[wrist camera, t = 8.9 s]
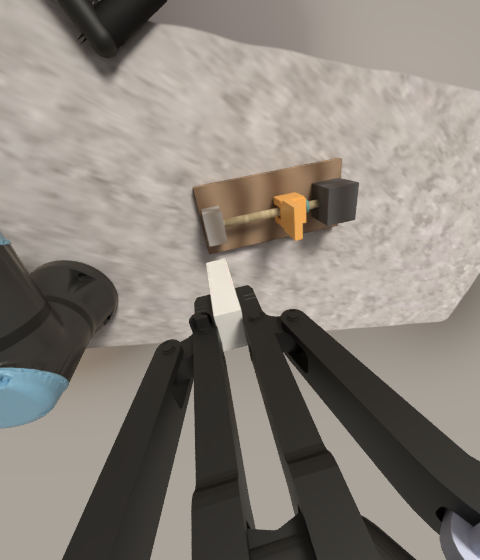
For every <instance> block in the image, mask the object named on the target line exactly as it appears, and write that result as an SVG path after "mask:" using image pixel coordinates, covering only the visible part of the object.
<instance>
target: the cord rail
mask: <svg viewBox="0 0 480 560" xmlns="http://www.w3.org/2000/svg"><path fill="white" fill-rule="evenodd" d="M341 167H342V159H340V158H336V159H331V160H326V161H321V162H316V163H311V164H306V165H301V166H296V167H291V168H286V169H281V170H276V171H271V172H266V173H261V174H255V175H250V176H245V177H240V178H235V179H230V180H225V181H220V182H215V183H210V184H205V185H200V186H195V187H193V190H194V194H195V198H196V202H197V206H198V210H199V214H200V218H201V222H202V226H203V230H204V234H205V238H206V242H207V246H208V250H209V254H213V253H217V252H222V251H226V250H231V249H235V248H240V247H244V246H248V245H253V244H257V243H262V242H266V241H271V240H275V239H280V238H284V237H289V235H288V234H287V233H286V232H285V231H284V227H281V226H280V225H279V224H278V223H277V222H276V221H275V217H277V216H281V215H280V208H279V207H278V206H277V205H275V204H274V199H273V197H274V196H279V195H284V194H289V193H294V192H296V193H298V194H300V195H303V196H304V198H306V223H303V233H307V232H311V231H316V230H320V229H325V228H329V227H334V226H338V223H343V222H347V221H352V220H355V215H356V206H357V196H358V187H359V182H355V181H350V180H346V179H341Z"/></svg>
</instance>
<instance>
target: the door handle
mask: <svg viewBox="0 0 480 560" xmlns="http://www.w3.org/2000/svg"><path fill="white" fill-rule="evenodd" d="M57 1H58V3H59V4H60V5H61V6H62V8H63V9H64V10H65V12H66V13H67V14H68V16H69V17H70V18H71V20H72V21H73V22H74V23H75V25H76V26H77V27H78V29H79V30H80V31H81V33H82V35H81V36H80V37H79V38H78V39H80V38H81V37H82V36H83V35H84V37H85V39H84V40H83V42H84V41H85V40H88V42H89V43H90V44H91V46H92V47H93V48H94V50H95V51H96V52H97V53H98V54H99V55H101V56H103V57H105V58H111V57H113V56H114V55H115V54H116V52H117V49H118V48H119V47H120V46H121V45H122V44H124V43H125V42H126V41H127V40H128V39H129V38H130V37H131V36H132V35H133V34H134V33H135V32H136V31H137V30H138V29H139V28H140V27H141V26H142V25H143V24H144V23H145V22H146V21H147V20H148V19H149V18H150V17H151V16H152V15H153V14H154V13H155V12H157V11H158V10H159V9H160V8H161V7H162V6H163V5H164V4H165V3H166V2H167V0H101V1H100V2H99V3H98V4H97V5H96V6H95V7H94V5H93V4H92V2H93V0H57ZM83 42H82V43H83ZM82 43H81V44H82Z"/></svg>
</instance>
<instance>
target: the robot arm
mask: <svg viewBox="0 0 480 560" xmlns="http://www.w3.org/2000/svg"><path fill="white" fill-rule="evenodd" d="M10 244H12V243H11V242H10V241H9V240H8V239H6V238H5V237H4V236H3V234H2V233H1V232H0V428H9V427H16V426H20V425H24V424H27V423H30V422H33V421H35V420H38V419H40V418H41V417H43V416H45V415H46V414H47V413H48V412H50V411H51V410H52V409H53V408H54V406H55V405H56V403H57V401H58V400H59V398H60V396H61V395H62V393H63V391H65V389H67V387H68V385H69V382H70V380H71V378H72V375H73V373H74V371H75V369H76V367H77V365H78V363H79V361H80V358H81V357H82V355H83V353H84V351H85V349H86V347H87V345H88V343H89V340H90V338H91V337H92V336H93V335H94V334H95V333H96V332H97V331H98V330H100V329H101V328H102V327H103V326H104V325H106V324H107V323H108V322H109V321H110V319H111V318H112V317H113V315H114V313H115V310H116V308H117V305H118V294H117V291H116V289H115V287H114V285H113V283H112V282H111V281H110V280H109V279H108V277H106V276H105V275H104V274H103V273H102V272H100V271H99V270H97V269H95V268H93V267H91V266H89V265H86V264H83V263H80V262H75V261H66V260H62V261H53V262H49V263H46V264H44V265H42V266H40V267H38V268H37V269H36V270H35V271H33V272H32V273H31V274H29V272H28V271H27V269H26V268H25V266H24V265H23V263H22V262H21V260H20V258H19V257H18V255H17V254H16V252H15V251H14V249H13V248H12V246H11V245H10ZM206 265H207V272H208V279H209V287H210V295H206V296H202V297H198V298H197V299H196V301H195V302H194V308H195V314H194V315H192V316H191V318H190V319H189V324H190V327H191V329H192V332H193V334H192V335H191V336H190V337H189V338H187V339H185V340H184V341H182V342H179V341H177V340H173V339H171V340H167V341H165V342H163V343H162V344H160V345H159V347H158V348H157V349H156V351H155V353H154V356H153V358H152V360H151V363H150V365H149V367H148V369H147V371H146V374H145V376H144V378H143V380H142V383H141V385H140V387H139V389H138V391H137V394H136V396H135V398H134V400H133V403H132V405H131V407H130V409H129V411H128V414H127V416H126V418H125V420H124V423H123V425H122V427H121V429H120V432H119V434H118V436H117V438H116V440H115V443H114V445H113V447H112V449H111V452H110V454H109V456H108V458H107V461H106V463H105V465H104V467H103V469H102V472H101V474H100V476H99V478H98V481H97V483H96V485H95V487H94V490H93V492H92V494H91V496H90V498H89V501H88V503H87V505H86V507H85V510H84V512H83V514H82V516H81V518H80V521H79V523H78V525H77V528H76V530H75V532H74V534H73V536H72V539H71V541H70V543H69V545H68V547H67V550H66V552H65V554H64V556H63V559H62V560H150V557H151V553H152V549H153V545H154V541H155V536H156V532H157V528H158V524H159V520H160V516H161V512H162V508H163V504H164V499H165V495H166V491H167V487H168V482H169V479H170V474H171V471H172V466H173V462H174V458H175V454H176V450H177V446H178V442H179V438H180V433H181V429H182V425H183V421H184V417H185V413H186V409H187V405H188V400H189V396H190V392H191V388H192V384H193V380H194V411H195V412H194V413H195V455H196V456H195V460H196V488H195V491H194V493H193V497H192V510H191V513H192V514H191V516H192V560H416V559H415V558H414V557H413V556H411V555H410V554H409V553H408V552H407V551H406V550H404V549H403V548H402V547H401V546H400V545H399V544H398V543H396V542H395V541H394V540H393V539H392V538H391V537H390V536H388V535H387V534H386V533H385V532H384V531H383V530H381V529H380V528H379V527H378V526H377V525H375V524H374V523H373V522H371V521H370V520H368V519H367V518H365V517H363V516H361V515H360V512H359V510H358V508H357V506H356V504H355V502H354V499H353V497H352V495H351V493H350V491H349V488H348V486H347V484H346V482H345V480H344V478H343V475H342V473H341V471H340V469H339V467H338V465H337V463H336V461H335V459H334V457H333V455H332V454H331V453H330V452H329V451H328V450H327V449H326V447H325V446H324V444H323V442H322V439H321V437H320V435H319V433H318V431H317V428H316V426H315V424H314V421H313V419H312V417H311V415H310V412H309V410H308V408H307V406H306V403H305V401H304V399H303V397H302V394H301V392H300V390H299V388H298V385H297V383H296V381H295V379H294V376H293V374H292V372H291V370H290V367H289V365H288V363H287V361H286V359H285V356H284V354H283V352H284V353H285V355H286V356H287V357H288V359H289V360H290V361H291V362H292V364H293V365H294V366H295V367H296V369H297V370H298V371H299V372H300V373H301V375H302V376H303V377H304V378H305V379H306V381H307V382H308V383H309V384H310V386H311V387H312V388H313V389H314V390H315V392H316V393H317V394H318V395H319V396H320V398H321V399H322V400H323V401H324V403H325V404H326V405H327V406H328V407H329V409H330V410H331V411H332V412H333V414H334V415H335V416H336V417H337V418H338V419H339V421H340V422H341V423H342V425H343V426H344V427H345V428H346V429H347V431H348V432H349V433H350V434H351V436H352V437H353V438H354V439H355V440H356V442H357V443H358V444H359V445H360V447H361V448H362V449H363V450H364V451H365V453H366V454H367V455H368V456H369V458H370V459H371V460H372V461H373V462H374V464H375V465H376V466H377V467H378V469H379V470H380V471H381V472H382V473H383V475H384V476H385V477H386V478H387V479H388V481H389V482H390V483H391V484H392V486H393V487H394V488H395V489H396V490H397V492H398V493H399V494H400V495H401V496H402V497H403V499H404V500H405V501H406V502H407V503H408V504H409V505H410V506H411V508H412V509H413V510H414V511H415V512H416V513H417V514H418V515H419V516H420V517H421V518H422V519H423V520H424V521H425V522H426V523H427V524H428V525H429V526H430V527H431V528H432V529H433V530H434V531H436V532H437V533H438V534H439V535H440V543H441V548H442V551H443V553H444V555H445V558H446V559H447V560H480V461H478V460H476V459H475V458H473V457H471V456H469V455H468V454H467V453H466V452H465V451H463V450H462V449H461V448H460V447H459V446H458V445H456V444H455V443H454V442H453V441H452V440H451V439H450V438H448V437H447V436H446V435H445V434H444V433H443V432H441V431H440V430H439V429H438V428H437V427H436V426H434V425H433V424H432V423H431V422H430V421H429V420H427V419H426V418H425V417H424V416H423V415H422V414H420V413H419V412H418V411H417V410H416V409H415V408H414V407H412V406H411V405H410V404H409V403H408V402H407V401H405V400H404V399H403V398H402V397H401V396H400V395H398V394H397V393H396V392H395V391H394V390H393V389H392V388H390V387H389V386H388V385H387V384H386V383H385V382H383V381H382V380H381V379H380V378H379V377H378V376H376V375H375V374H374V373H373V372H372V371H371V370H370V369H368V368H367V367H366V366H365V365H364V364H362V363H361V362H360V361H359V360H358V359H357V358H355V357H354V356H353V355H352V354H351V353H350V352H349V351H347V350H346V349H345V348H344V347H343V346H342V345H341V344H339V343H338V342H337V341H335V339H334V338H332V337H331V336H330V335H329V334H328V333H326V332H325V331H324V330H323V329H322V328H321V327H320V326H318V325H317V324H316V323H315V322H314V321H313V320H312V319H310V318H309V317H308V316H307V315H306V314H305V313H303V312H302V311H300V310H297V309H289V310H286V311H284V312H283V313H282V315H281V316H278V317H275V316H269V315H266V314H265V313H264V312H263V311H262V309H261V307H260V305H259V302H258V300H257V298H256V295H255V293H254V291H253V289H252V288H251V287H250V286H248V285H246V286H242V287H238V288H234V285H233V282H232V279H231V276H230V272H229V269H228V266H227V263H226V260H225V259H221V260H216V261H212V262H208V263H206ZM247 345H248V347H249V352H250V357H251V361H252V363H253V366H254V369H255V373H256V377H257V380H258V384H259V387H260V391H261V394H262V397H263V401H264V404H265V408H266V412H267V415H268V419H269V422H270V425H271V429H272V433H273V436H274V440H275V443H276V447H277V450H278V454H279V457H280V461H281V464H282V468H283V471H284V475H285V478H286V482H287V485H288V489H289V493H290V496H291V501H292V505H293V509H294V513H295V516H294V517H293V518H292V519H291V520H289V521H288V522H287V523H286V524H284V525H283V526H282V527H281V528H279V529H278V530H274V531H273V530H257V529H255V524H254V519H253V514H252V510H251V506H250V500H249V495H248V489H247V484H246V477H245V471H244V466H243V460H242V454H241V448H240V442H239V436H238V430H237V424H236V419H235V413H234V407H233V401H232V395H231V389H230V383H229V377H228V372H227V366H226V360H225V356H224V352H223V351H227V350H231V349H235V348H239V347H243V346H247Z"/></svg>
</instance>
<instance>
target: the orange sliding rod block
mask: <svg viewBox="0 0 480 560" xmlns="http://www.w3.org/2000/svg"><path fill="white" fill-rule="evenodd" d="M273 199H274V204H275V205H277V206H278V207H279V208H280V215H281V216H277V217H275V221H276V222H277V223H278V224H279V225H280V226H281V227H284V231H285V232H286V233H287V234H288V235H289V236H290V237H292V238H293V239H294V240H295V241H297V240H301V239H303V223H306V198H304V196H303V195H300V194H298V193H296V192H294V193H289V194H284V195H279V196H274V197H273Z"/></svg>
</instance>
